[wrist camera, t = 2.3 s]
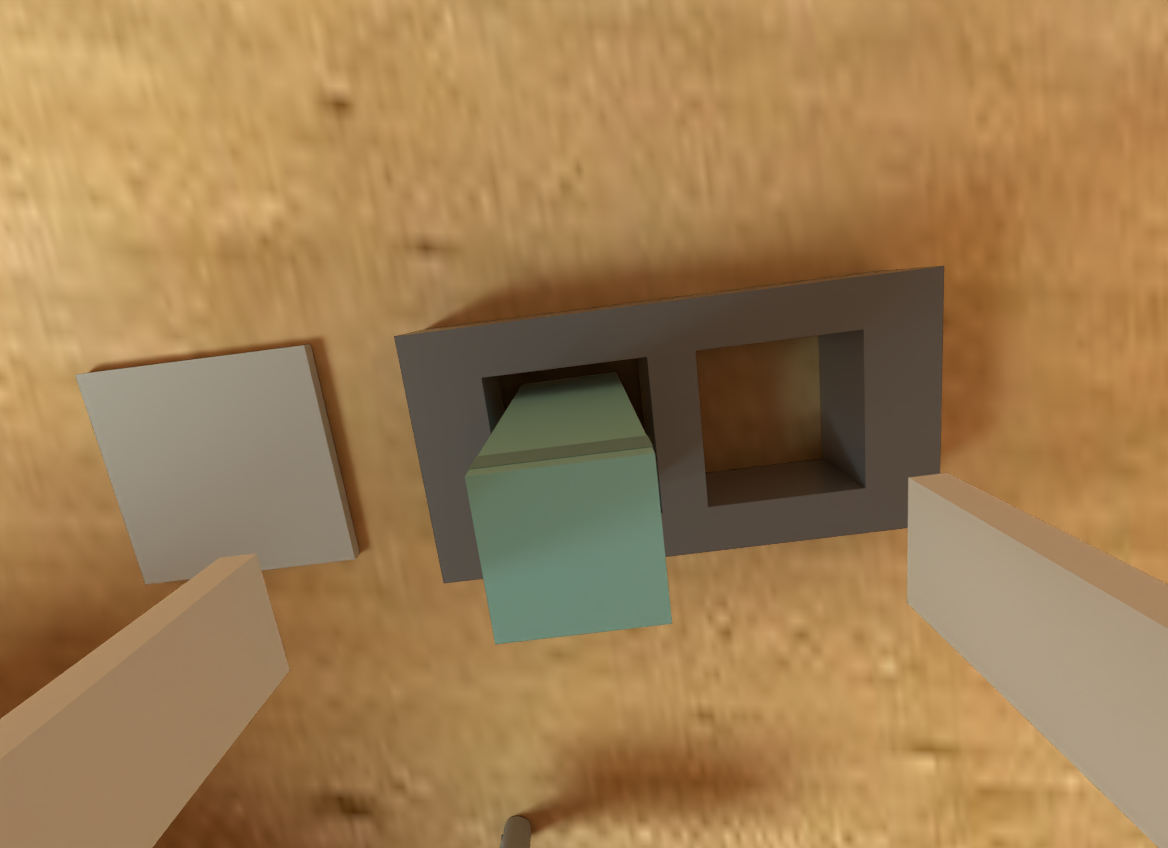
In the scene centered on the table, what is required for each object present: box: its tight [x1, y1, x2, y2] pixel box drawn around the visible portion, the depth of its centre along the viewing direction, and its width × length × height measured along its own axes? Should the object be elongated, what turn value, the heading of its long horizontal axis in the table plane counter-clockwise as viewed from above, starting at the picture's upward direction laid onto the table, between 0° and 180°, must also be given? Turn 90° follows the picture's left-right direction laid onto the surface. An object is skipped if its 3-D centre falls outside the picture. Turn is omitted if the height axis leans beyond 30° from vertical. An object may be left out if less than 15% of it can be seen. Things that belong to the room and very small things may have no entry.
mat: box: [75, 344, 360, 585], centre depth 25 cm, size 10×10×1 cm
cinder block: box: [394, 266, 944, 583], centre depth 23 cm, size 20×10×4 cm, turn 97°
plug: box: [465, 372, 672, 644], centre depth 19 cm, size 4×4×13 cm
